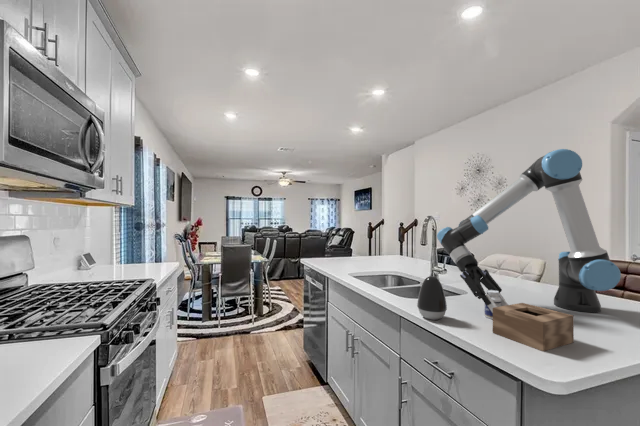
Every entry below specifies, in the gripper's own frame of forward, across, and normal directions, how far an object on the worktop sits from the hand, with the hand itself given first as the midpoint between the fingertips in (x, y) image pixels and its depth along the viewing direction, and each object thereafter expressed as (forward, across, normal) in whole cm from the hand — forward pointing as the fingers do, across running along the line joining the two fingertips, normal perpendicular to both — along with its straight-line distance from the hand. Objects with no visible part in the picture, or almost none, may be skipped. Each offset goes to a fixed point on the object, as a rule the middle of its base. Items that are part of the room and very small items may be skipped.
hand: (502, 311), depth 112 cm
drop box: (+12, +7, +8) cm, 16 cm away
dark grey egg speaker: (-6, +21, -12) cm, 25 cm away
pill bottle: (0, 0, -5) cm, 5 cm away
